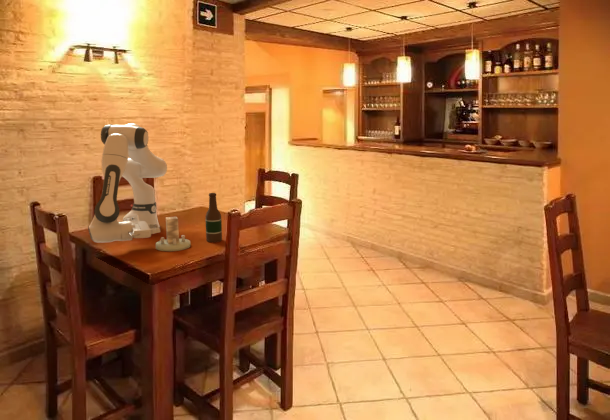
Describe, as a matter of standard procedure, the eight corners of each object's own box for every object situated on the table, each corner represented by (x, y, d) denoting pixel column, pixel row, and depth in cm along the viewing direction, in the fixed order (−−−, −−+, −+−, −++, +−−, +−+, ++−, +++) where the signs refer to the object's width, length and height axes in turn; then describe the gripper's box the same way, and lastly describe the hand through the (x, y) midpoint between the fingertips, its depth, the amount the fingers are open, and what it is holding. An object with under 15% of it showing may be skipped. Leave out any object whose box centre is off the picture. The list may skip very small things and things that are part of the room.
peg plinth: (158, 252, 223) (157, 242, 222) (154, 244, 238) (153, 234, 237) (193, 249, 230) (192, 238, 229) (187, 241, 244) (186, 231, 243)
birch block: (168, 244, 230) (167, 219, 228) (166, 241, 235) (165, 217, 232) (179, 243, 232) (178, 218, 230) (177, 240, 237) (176, 216, 234)
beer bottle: (214, 237, 250) (212, 191, 246) (225, 240, 246) (223, 192, 241) (203, 241, 244) (201, 193, 239) (214, 243, 240) (212, 195, 235)
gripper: (128, 228, 214) (161, 225, 219) (125, 219, 232) (155, 217, 238) (129, 242, 215) (162, 239, 221) (126, 232, 234) (156, 230, 239)
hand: (158, 228), depth 229 cm, fingers open, 8 cm apart
